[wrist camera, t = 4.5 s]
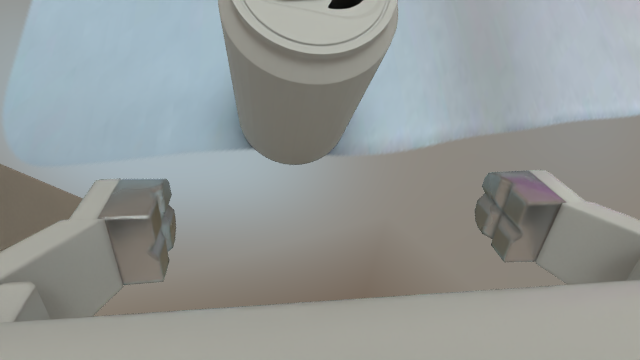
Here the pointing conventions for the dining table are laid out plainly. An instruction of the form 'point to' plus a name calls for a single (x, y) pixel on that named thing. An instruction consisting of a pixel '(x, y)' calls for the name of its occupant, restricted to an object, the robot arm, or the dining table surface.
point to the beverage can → (302, 69)
